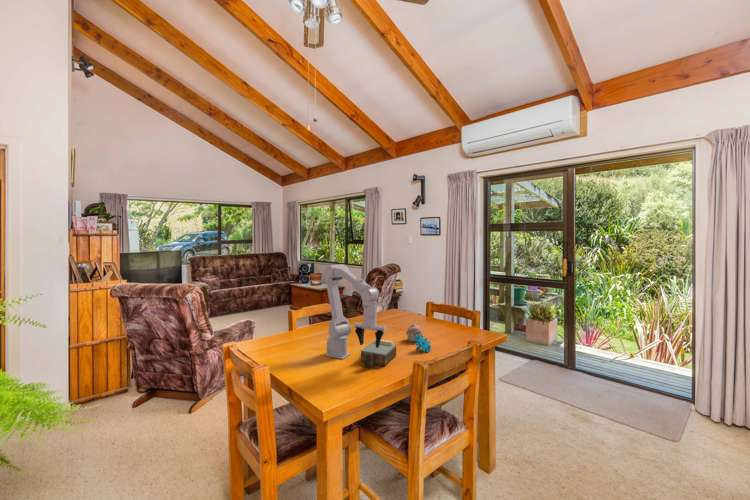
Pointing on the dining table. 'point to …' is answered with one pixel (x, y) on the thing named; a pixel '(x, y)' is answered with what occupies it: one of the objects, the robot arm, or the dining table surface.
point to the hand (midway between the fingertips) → (369, 345)
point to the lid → (380, 347)
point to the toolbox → (381, 358)
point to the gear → (423, 343)
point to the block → (369, 360)
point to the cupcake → (413, 332)
